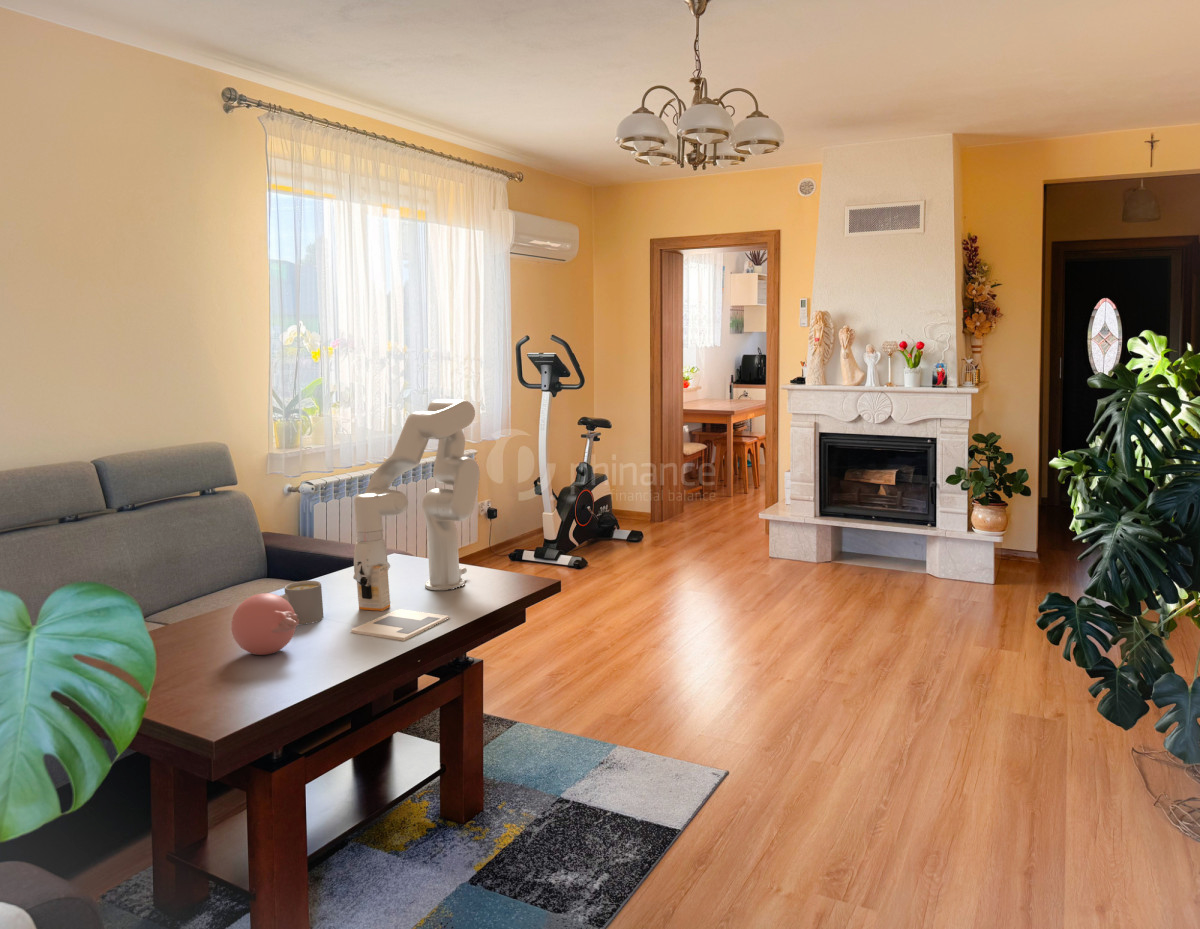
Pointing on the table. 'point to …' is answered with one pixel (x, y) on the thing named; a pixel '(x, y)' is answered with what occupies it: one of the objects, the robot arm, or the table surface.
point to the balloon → (264, 624)
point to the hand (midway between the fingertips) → (373, 595)
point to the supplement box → (376, 590)
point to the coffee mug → (305, 600)
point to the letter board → (400, 624)
